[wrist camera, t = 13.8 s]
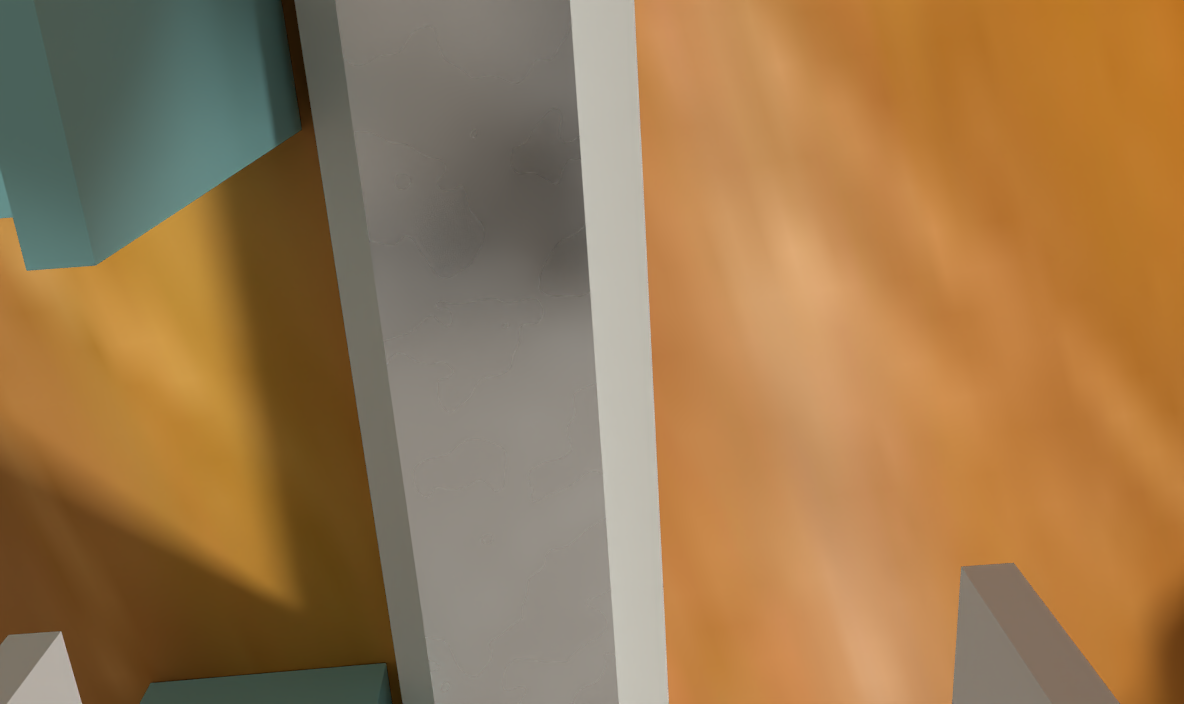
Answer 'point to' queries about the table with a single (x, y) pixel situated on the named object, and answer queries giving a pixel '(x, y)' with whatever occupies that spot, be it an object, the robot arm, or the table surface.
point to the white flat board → (616, 332)
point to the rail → (488, 337)
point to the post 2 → (280, 688)
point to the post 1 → (131, 114)
